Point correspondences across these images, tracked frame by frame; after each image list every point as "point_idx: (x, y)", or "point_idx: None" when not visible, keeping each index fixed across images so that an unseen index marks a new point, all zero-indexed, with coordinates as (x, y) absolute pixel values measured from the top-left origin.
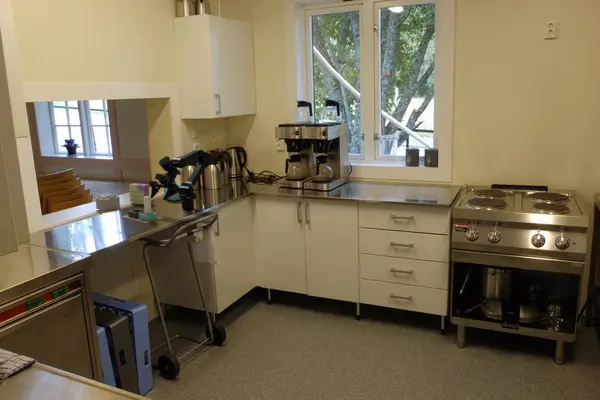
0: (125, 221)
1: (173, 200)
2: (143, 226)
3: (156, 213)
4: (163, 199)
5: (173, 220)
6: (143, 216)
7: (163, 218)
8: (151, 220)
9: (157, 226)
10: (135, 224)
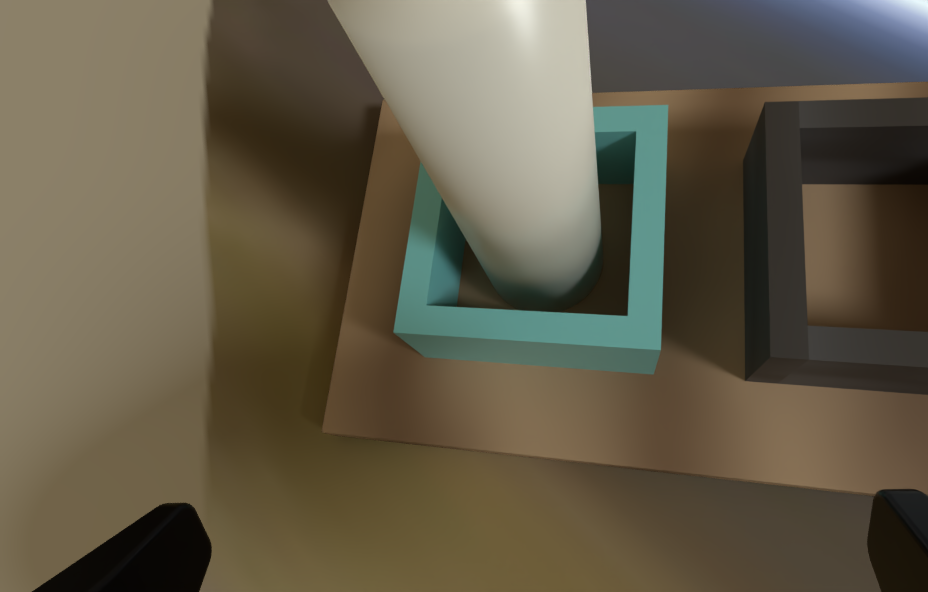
0: (802, 35)
1: None
2: None
3: (397, 318)
4: (171, 505)
5: (217, 510)
6: None
7: (342, 420)
8: None
9: (223, 150)
10: None
